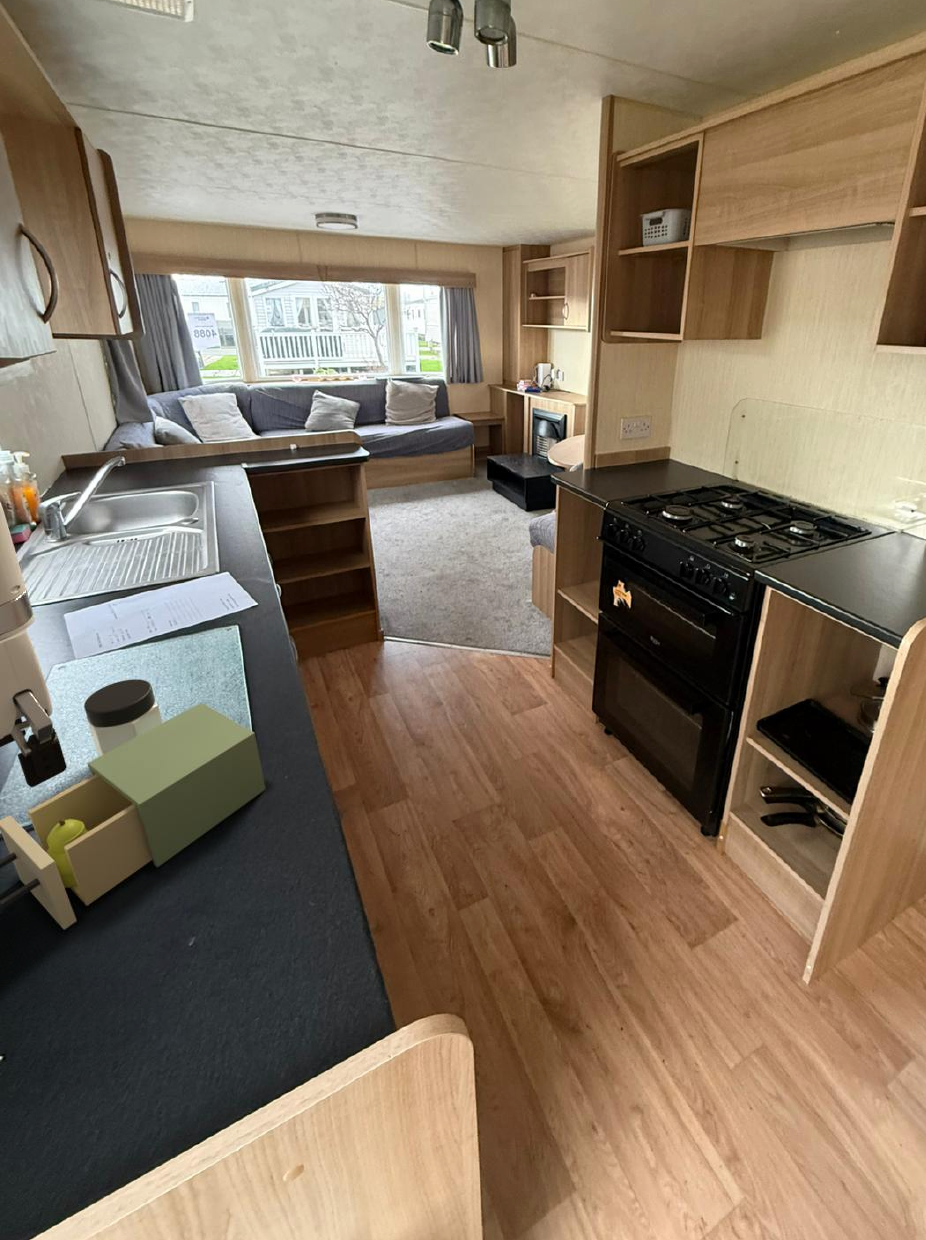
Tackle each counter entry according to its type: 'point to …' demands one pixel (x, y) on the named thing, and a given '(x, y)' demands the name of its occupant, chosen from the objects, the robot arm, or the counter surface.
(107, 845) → the drawer
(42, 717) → the robot arm
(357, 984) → the counter surface
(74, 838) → the pear
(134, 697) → the jar
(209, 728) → the cabinet
